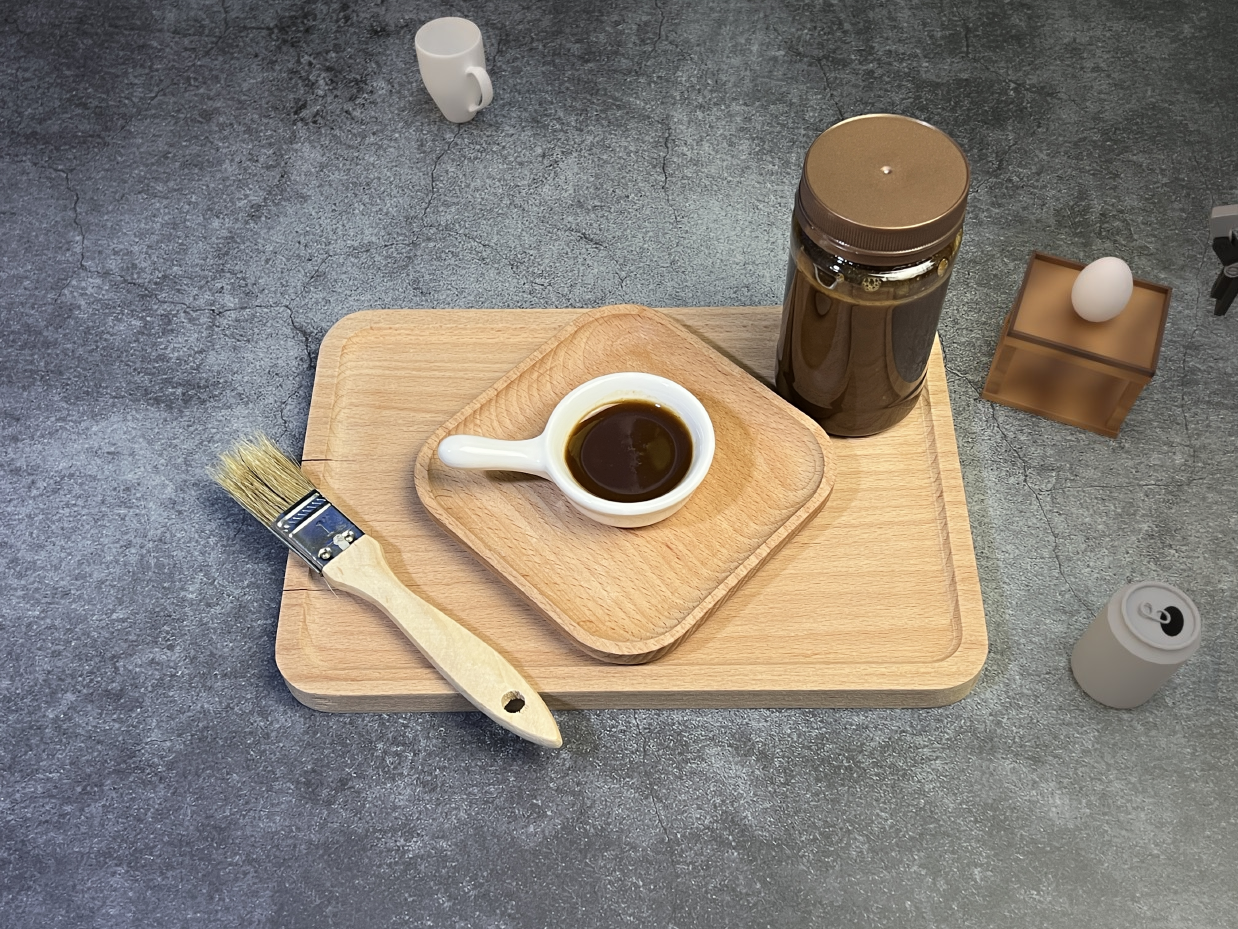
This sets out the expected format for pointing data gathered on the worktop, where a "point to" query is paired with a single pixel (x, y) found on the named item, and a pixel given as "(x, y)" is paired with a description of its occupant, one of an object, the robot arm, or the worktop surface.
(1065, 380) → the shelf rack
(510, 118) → the worktop surface
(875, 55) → the worktop surface
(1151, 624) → the can
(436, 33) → the mug
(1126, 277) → the egg
